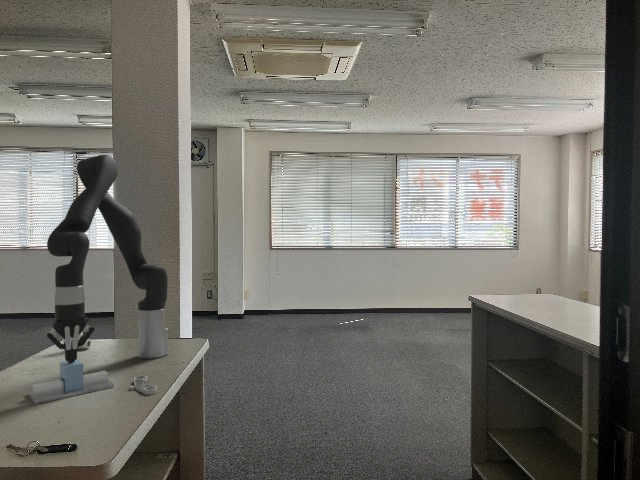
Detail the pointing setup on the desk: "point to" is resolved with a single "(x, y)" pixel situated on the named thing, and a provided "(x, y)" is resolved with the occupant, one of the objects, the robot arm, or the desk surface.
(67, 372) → the block
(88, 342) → the valve
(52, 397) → the din rail
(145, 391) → the bracket
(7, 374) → the desk surface
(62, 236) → the robot arm
